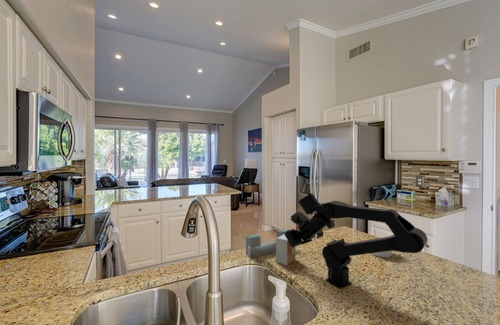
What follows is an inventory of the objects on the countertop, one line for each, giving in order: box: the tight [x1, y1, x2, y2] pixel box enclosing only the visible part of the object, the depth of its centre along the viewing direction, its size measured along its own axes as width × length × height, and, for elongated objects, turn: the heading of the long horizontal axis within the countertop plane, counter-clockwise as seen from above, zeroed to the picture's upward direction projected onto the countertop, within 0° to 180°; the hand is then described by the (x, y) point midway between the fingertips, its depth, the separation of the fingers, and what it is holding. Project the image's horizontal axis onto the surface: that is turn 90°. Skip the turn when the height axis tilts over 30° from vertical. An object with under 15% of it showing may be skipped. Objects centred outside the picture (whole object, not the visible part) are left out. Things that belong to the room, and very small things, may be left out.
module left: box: [245, 234, 262, 255], centre depth 110 cm, size 5×5×9 cm
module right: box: [276, 229, 288, 238], centre depth 119 cm, size 5×5×9 cm
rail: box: [247, 239, 276, 258], centre depth 113 cm, size 3×24×5 cm, turn 119°
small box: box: [275, 235, 296, 266], centre depth 103 cm, size 8×6×10 cm
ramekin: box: [369, 238, 394, 258], centre depth 112 cm, size 11×11×5 cm
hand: (293, 244), depth 100 cm, fingers closed
